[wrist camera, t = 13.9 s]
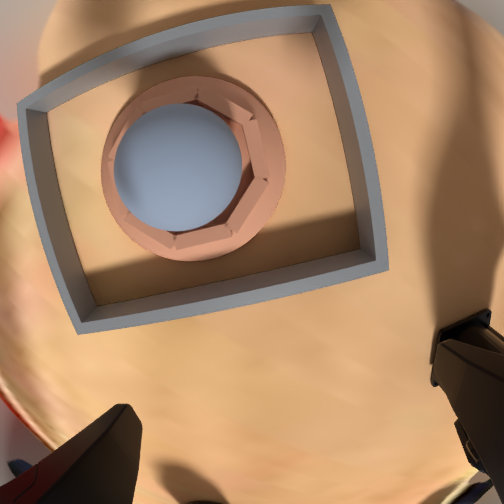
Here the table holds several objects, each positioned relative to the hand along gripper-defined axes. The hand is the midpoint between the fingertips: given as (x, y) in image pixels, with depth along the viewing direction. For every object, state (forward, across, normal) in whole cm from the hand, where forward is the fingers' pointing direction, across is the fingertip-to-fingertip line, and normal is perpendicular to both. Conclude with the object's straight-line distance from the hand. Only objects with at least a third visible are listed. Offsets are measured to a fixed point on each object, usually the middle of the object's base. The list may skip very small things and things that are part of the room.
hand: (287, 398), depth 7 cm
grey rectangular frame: (+12, +3, -7) cm, 14 cm away
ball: (+8, +3, -7) cm, 11 cm away
